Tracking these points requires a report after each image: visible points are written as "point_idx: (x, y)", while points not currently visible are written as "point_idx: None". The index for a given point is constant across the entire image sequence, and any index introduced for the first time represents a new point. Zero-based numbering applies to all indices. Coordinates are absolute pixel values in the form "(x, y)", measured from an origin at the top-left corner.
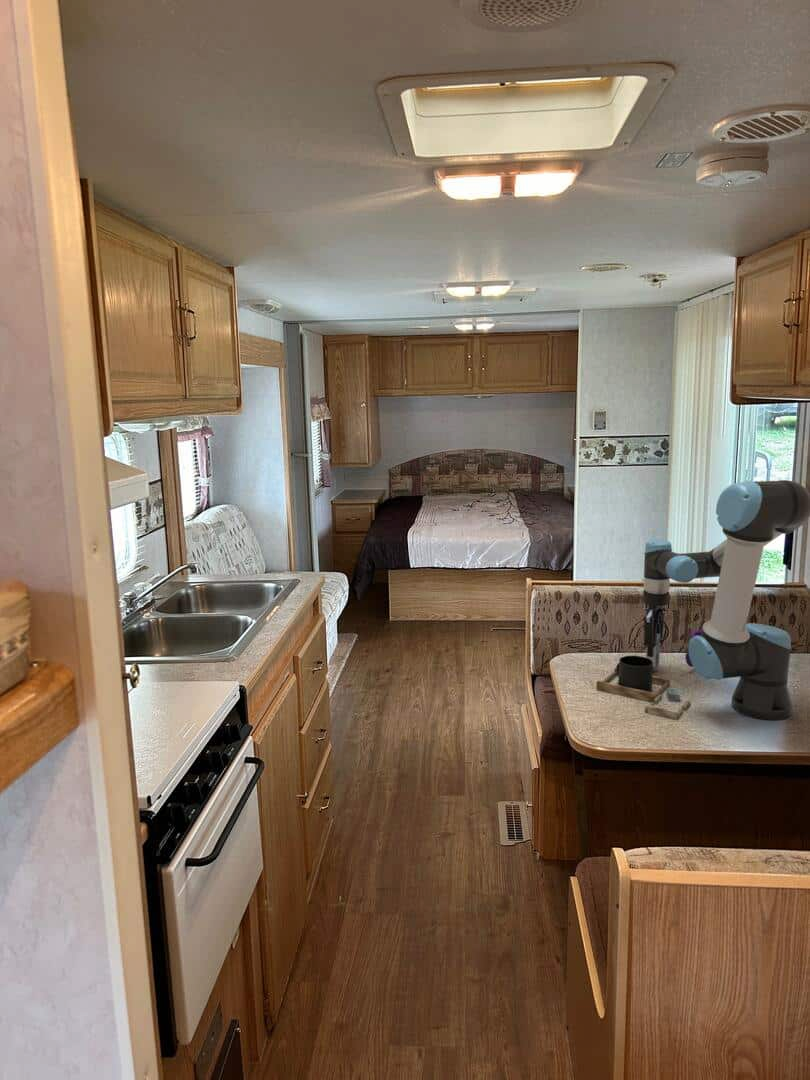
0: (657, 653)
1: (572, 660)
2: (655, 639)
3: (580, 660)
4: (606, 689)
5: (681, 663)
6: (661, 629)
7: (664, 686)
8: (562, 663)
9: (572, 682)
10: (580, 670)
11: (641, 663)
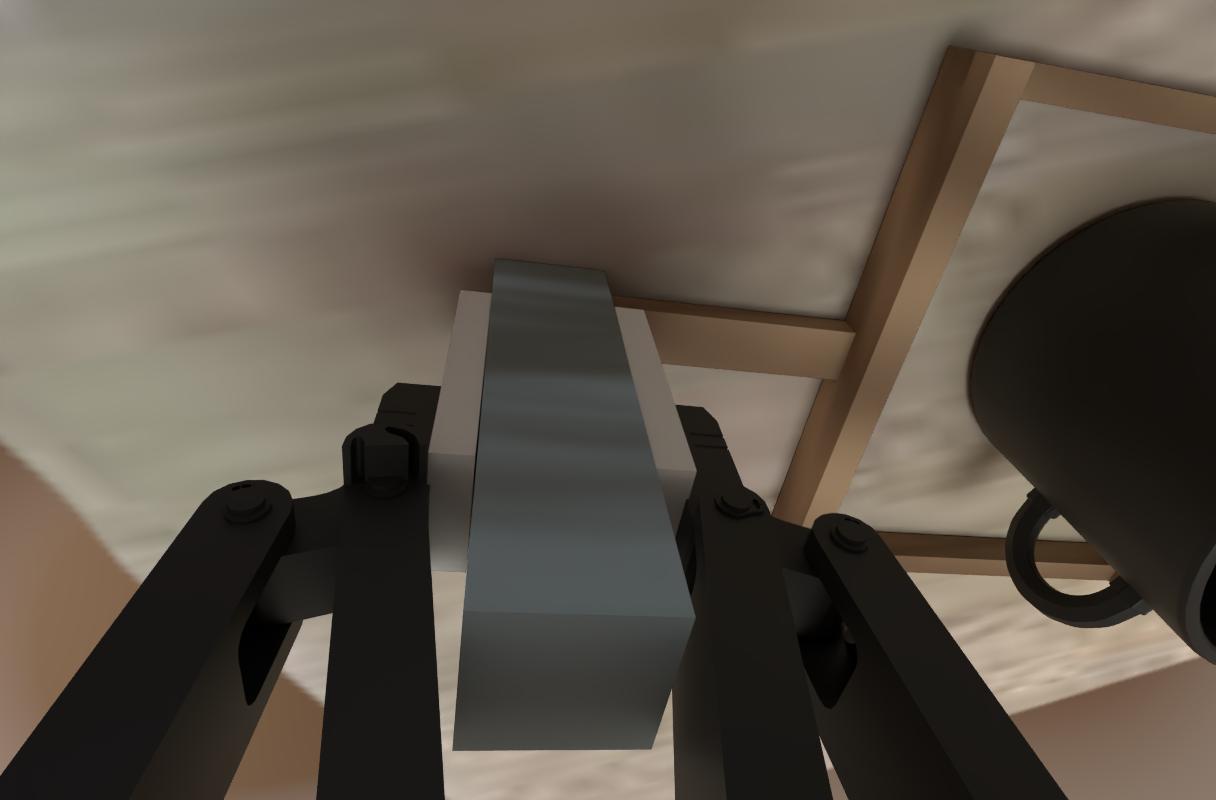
0: (560, 376)
1: (585, 781)
2: (714, 576)
3: (561, 756)
4: None
5: (17, 18)
6: (211, 667)
7: (1136, 89)
8: (666, 796)
9: (985, 683)
10: None
11: (1172, 461)
